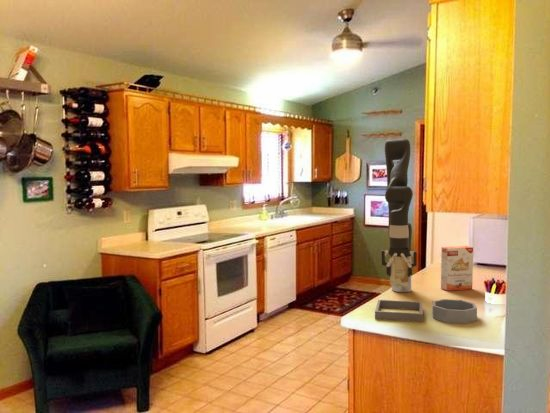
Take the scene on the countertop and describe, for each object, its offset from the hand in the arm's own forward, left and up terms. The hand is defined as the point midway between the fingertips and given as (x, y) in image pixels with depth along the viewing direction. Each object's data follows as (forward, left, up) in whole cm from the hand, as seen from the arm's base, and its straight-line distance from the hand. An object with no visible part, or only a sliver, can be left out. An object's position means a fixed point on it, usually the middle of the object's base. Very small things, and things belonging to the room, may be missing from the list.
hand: (399, 276), depth 192 cm
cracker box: (-48, +26, -16) cm, 57 cm away
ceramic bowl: (0, +21, -16) cm, 26 cm away
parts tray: (0, 0, -16) cm, 16 cm away
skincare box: (0, 0, -4) cm, 4 cm away
